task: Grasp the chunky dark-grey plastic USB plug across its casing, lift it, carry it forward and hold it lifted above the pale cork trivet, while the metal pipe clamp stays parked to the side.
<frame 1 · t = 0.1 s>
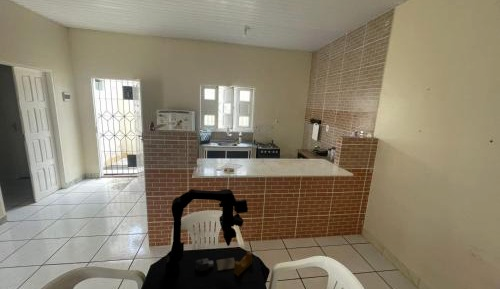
hand: (226, 240, 117), 15 cm above the table, fingers open, 9 cm apart
trivet: (226, 264, 119), on the table
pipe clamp: (242, 268, 117), on the table
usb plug: (206, 267, 116), on the table
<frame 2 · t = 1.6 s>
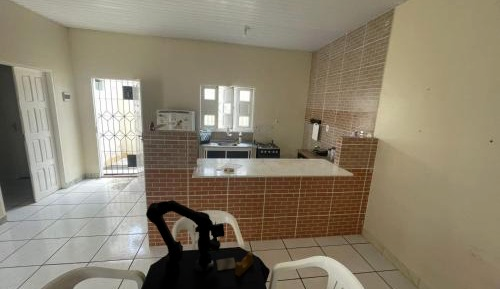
hand: (203, 264, 115), 2 cm above the table, fingers open, 9 cm apart
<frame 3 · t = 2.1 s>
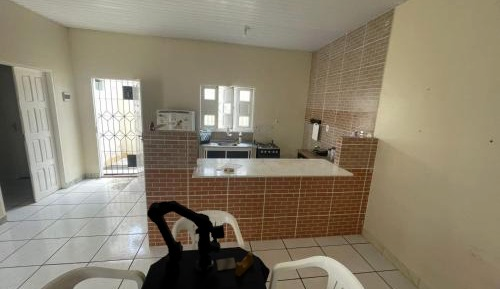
hand: (204, 266, 115), 1 cm above the table, fingers open, 9 cm apart
nothing on the table moved.
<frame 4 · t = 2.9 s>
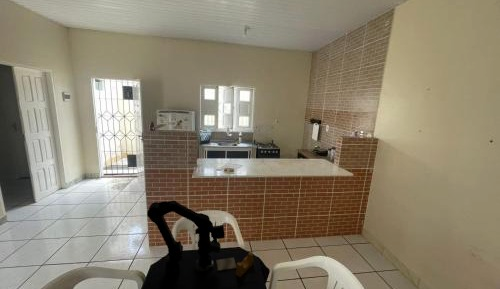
hand: (204, 266, 115), 1 cm above the table, fingers closed on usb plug, 4 cm apart
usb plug: (206, 267, 116), on the table, touching gripper
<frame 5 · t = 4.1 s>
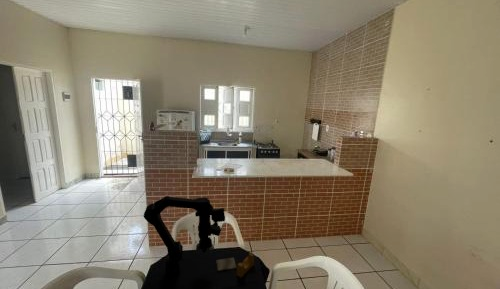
hand: (204, 249, 114), 11 cm above the table, fingers closed on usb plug, 4 cm apart
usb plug: (206, 251, 114), point 10 cm above the table, touching gripper
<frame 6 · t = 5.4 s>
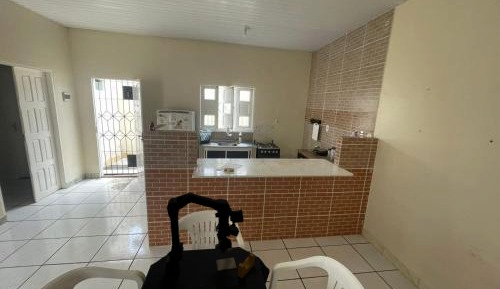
hand: (222, 250, 117), 9 cm above the table, fingers closed on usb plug, 4 cm apart
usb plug: (225, 251, 117), point 8 cm above the table, touching gripper
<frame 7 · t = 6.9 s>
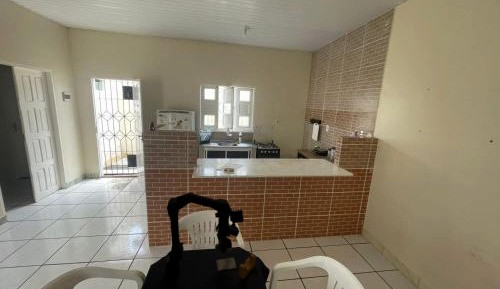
hand: (222, 250, 117), 9 cm above the table, fingers closed on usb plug, 4 cm apart
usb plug: (225, 251, 117), point 8 cm above the table, touching gripper
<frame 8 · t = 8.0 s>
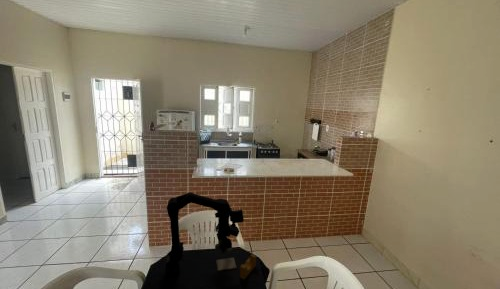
hand: (222, 250, 117), 9 cm above the table, fingers closed on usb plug, 4 cm apart
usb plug: (225, 251, 117), point 8 cm above the table, touching gripper
at the end: the gripper is holding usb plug; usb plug point 8.0 cm above the table; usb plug inside the target area on the trivet (0.8 cm from its centre), point 8.0 cm above the trivet's base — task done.
